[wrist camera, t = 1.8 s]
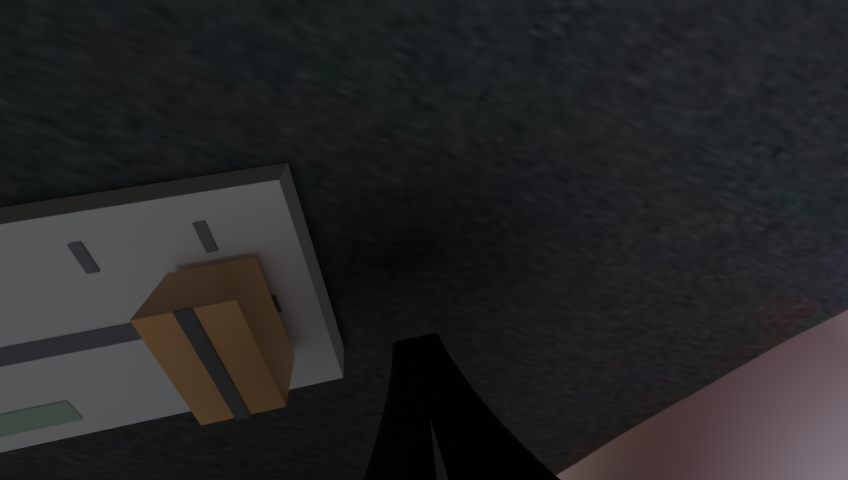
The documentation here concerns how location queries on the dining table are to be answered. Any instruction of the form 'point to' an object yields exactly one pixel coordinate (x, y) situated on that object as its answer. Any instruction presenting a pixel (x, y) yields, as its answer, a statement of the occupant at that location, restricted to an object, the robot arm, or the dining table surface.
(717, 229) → the dining table surface
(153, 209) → the fader console
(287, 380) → the fader knob
